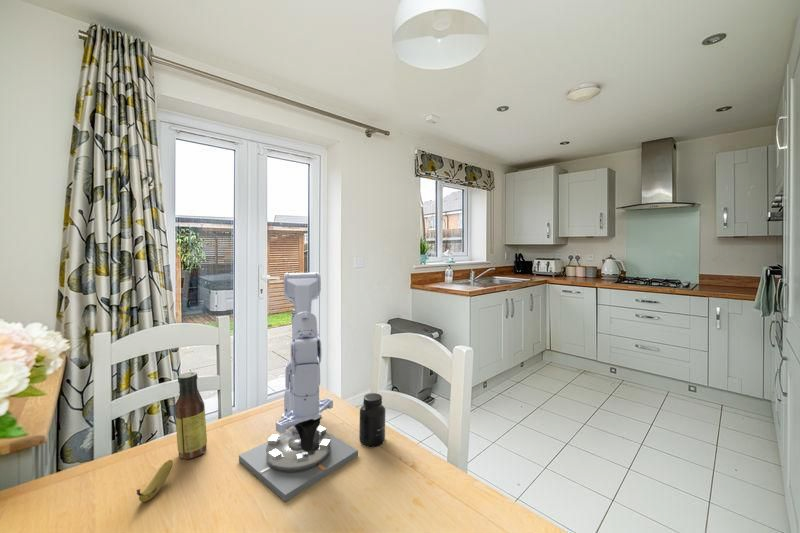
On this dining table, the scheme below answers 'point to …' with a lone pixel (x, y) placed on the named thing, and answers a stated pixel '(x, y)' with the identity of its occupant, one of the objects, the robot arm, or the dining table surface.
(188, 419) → the sauce bottle
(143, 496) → the banana
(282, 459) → the grey turntable disc
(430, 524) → the dining table surface
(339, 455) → the boss plate
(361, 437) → the supplement bottle
